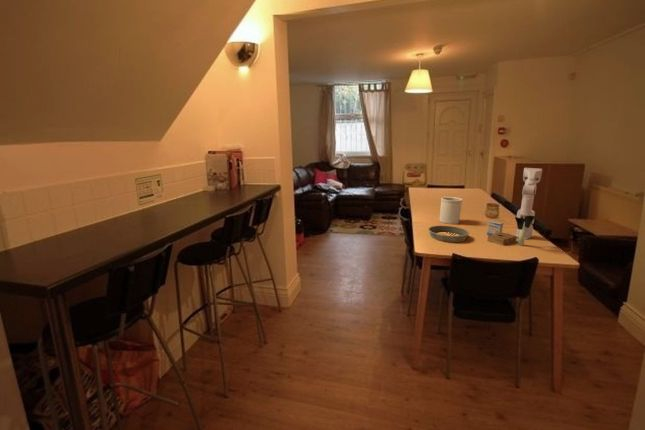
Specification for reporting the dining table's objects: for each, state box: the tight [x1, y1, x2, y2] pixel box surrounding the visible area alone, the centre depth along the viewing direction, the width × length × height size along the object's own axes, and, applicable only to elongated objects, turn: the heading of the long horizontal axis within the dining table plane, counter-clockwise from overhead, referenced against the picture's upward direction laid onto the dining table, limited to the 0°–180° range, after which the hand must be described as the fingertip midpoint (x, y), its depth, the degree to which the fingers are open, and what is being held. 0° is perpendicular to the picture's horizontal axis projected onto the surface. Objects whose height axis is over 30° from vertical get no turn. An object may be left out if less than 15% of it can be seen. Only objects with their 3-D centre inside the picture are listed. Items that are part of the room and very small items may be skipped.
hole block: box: [487, 231, 518, 246], centre depth 215 cm, size 14×10×4 cm
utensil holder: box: [439, 196, 464, 225], centre depth 257 cm, size 15×15×18 cm
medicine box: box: [486, 220, 504, 236], centre depth 226 cm, size 8×4×9 cm, turn 45°
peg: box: [517, 230, 526, 247], centre depth 207 cm, size 3×3×9 cm
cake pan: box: [427, 225, 470, 243], centre depth 222 cm, size 25×25×4 cm
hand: (523, 228), depth 206 cm, fingers open, 7 cm apart
